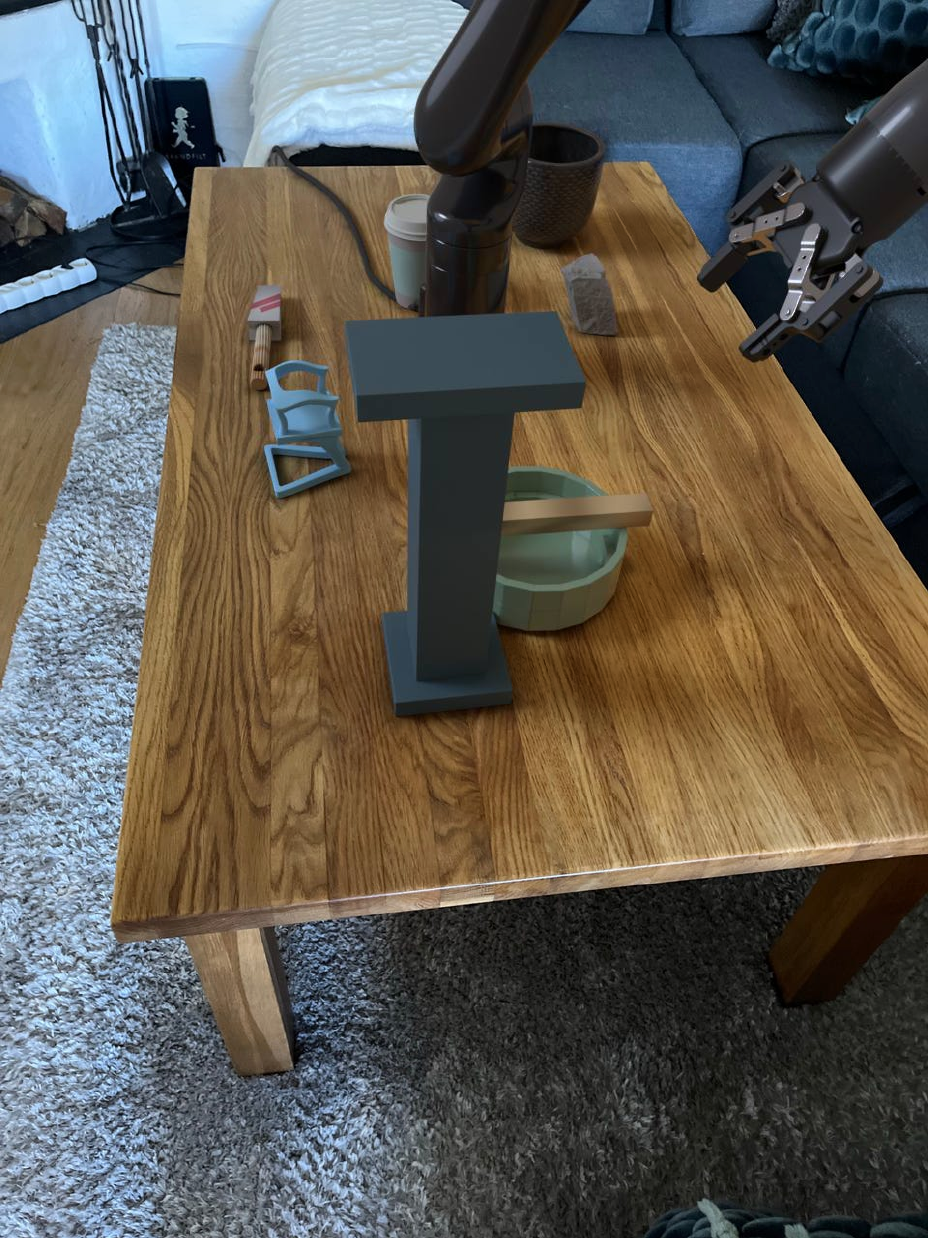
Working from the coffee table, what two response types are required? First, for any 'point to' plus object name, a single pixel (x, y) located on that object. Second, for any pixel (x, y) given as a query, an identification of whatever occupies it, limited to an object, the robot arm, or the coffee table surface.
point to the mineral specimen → (590, 296)
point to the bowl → (555, 559)
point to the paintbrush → (264, 330)
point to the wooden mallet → (576, 514)
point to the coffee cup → (407, 245)
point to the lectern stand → (456, 481)
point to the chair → (304, 426)
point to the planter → (559, 184)
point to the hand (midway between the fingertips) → (724, 320)
